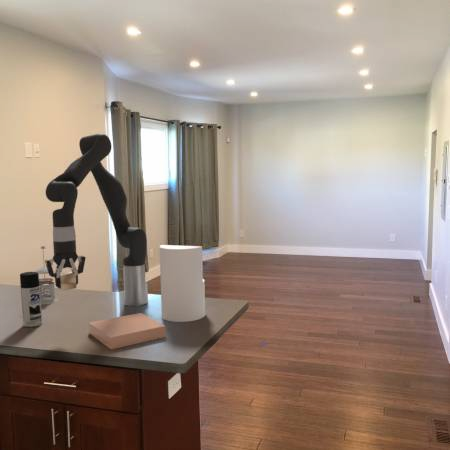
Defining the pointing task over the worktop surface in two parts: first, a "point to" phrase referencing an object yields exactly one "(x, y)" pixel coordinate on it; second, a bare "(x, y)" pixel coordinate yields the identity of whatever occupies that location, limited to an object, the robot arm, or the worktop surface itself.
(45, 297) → the french press
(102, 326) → the terracotta platform
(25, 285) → the spray can
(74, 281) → the maple block
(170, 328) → the worktop surface
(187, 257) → the cylinder
